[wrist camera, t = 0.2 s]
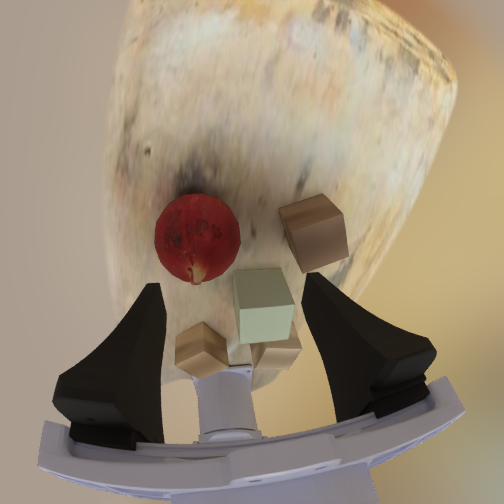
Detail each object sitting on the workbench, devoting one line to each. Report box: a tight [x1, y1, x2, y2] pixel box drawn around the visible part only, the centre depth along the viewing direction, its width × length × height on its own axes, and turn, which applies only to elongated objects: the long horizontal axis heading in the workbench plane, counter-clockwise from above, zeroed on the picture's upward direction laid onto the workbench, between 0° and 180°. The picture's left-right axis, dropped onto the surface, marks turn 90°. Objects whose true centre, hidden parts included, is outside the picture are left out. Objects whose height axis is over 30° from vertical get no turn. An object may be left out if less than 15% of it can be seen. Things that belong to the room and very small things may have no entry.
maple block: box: [250, 322, 302, 370], centre depth 29 cm, size 4×4×4 cm
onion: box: [154, 193, 241, 285], centre depth 18 cm, size 6×6×8 cm
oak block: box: [175, 322, 229, 380], centre depth 28 cm, size 4×4×4 cm
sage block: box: [234, 268, 295, 344], centre depth 24 cm, size 4×4×5 cm
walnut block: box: [278, 194, 349, 274], centre depth 21 cm, size 4×4×4 cm
